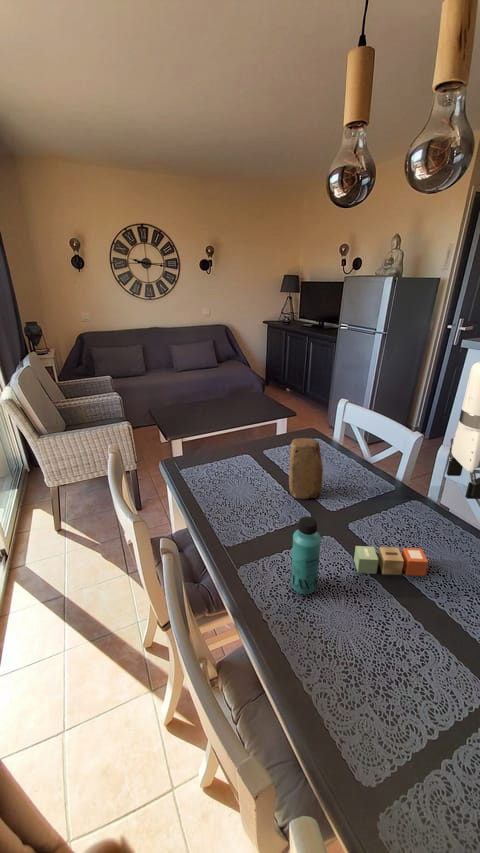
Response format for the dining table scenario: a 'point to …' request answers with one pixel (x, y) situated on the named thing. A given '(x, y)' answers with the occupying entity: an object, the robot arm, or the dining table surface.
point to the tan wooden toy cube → (390, 560)
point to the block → (305, 469)
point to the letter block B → (366, 559)
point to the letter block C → (414, 561)
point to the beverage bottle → (305, 556)
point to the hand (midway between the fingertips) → (462, 486)
